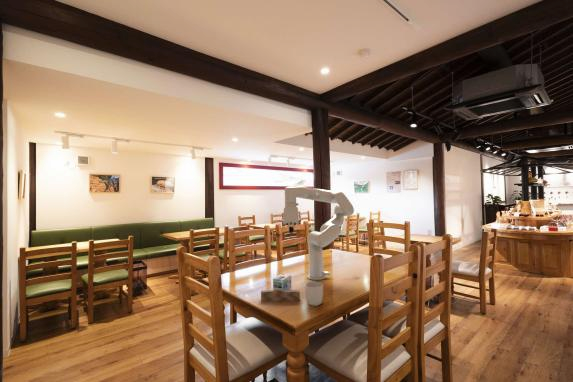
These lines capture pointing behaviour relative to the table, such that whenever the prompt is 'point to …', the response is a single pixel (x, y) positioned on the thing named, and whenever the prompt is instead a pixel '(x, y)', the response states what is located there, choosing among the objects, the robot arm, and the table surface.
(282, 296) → the walnut board
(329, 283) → the table surface
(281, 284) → the light bulb box
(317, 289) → the mug
